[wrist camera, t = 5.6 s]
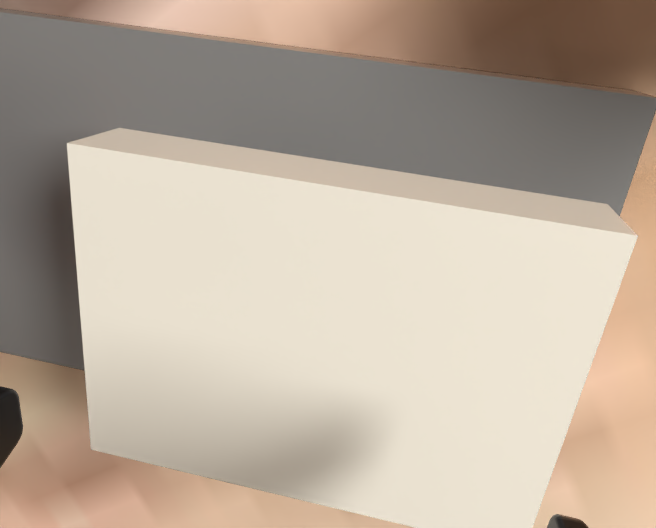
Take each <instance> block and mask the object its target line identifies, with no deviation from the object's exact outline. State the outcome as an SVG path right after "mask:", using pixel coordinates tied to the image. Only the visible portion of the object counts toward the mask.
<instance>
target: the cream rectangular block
mask: <svg viewBox="0 0 656 528" xmlns="http://www.w3.org/2000/svg"><path fill="white" fill-rule="evenodd" d="M67 154H68V166H69V179H70V192H71V204H72V217H73V229H74V242H75V255H76V267H77V280H78V292H79V305H80V318H81V330H82V343H83V355H84V368H85V381H86V393H87V406H88V419H89V431H90V444H91V450H95V451H99V452H103V453H107V454H111V455H115V456H120V457H124V458H128V459H132V460H136V461H140V462H145V463H149V464H153V465H157V466H161V467H165V468H169V469H174V470H178V471H182V472H186V473H190V474H194V475H199V476H203V477H207V478H211V479H215V480H219V481H224V482H228V483H232V484H236V485H240V486H244V487H249V488H253V489H257V490H261V491H265V492H269V493H273V494H278V495H282V496H286V497H290V498H294V499H298V500H303V501H307V502H311V503H315V504H319V505H323V506H328V507H332V508H336V509H340V510H344V511H348V512H353V513H357V514H361V515H365V516H369V517H373V518H377V519H382V520H386V521H390V522H394V523H398V524H402V525H407V526H411V527H415V528H532V527H533V524H534V522H535V519H536V516H537V513H538V511H539V508H540V505H541V502H542V500H543V497H544V494H545V491H546V489H547V486H548V483H549V480H550V478H551V475H552V472H553V469H554V466H555V464H556V461H557V458H558V455H559V453H560V450H561V447H562V444H563V442H564V439H565V436H566V433H567V431H568V428H569V425H570V422H571V420H572V417H573V414H574V411H575V408H576V406H577V403H578V400H579V397H580V395H581V392H582V389H583V386H584V384H585V381H586V378H587V375H588V373H589V370H590V367H591V364H592V362H593V359H594V356H595V353H596V350H597V348H598V345H599V342H600V339H601V337H602V334H603V331H604V328H605V326H606V323H607V320H608V317H609V315H610V312H611V309H612V306H613V304H614V301H615V298H616V295H617V292H618V290H619V287H620V284H621V281H622V279H623V276H624V273H625V270H626V268H627V265H628V262H629V259H630V257H631V254H632V251H633V248H634V246H635V243H636V240H637V237H638V235H637V234H636V233H635V232H634V231H633V230H632V229H631V228H630V227H629V226H628V225H627V224H626V223H625V222H624V221H623V220H622V219H621V218H620V217H619V216H618V214H617V213H616V212H615V211H614V210H613V209H612V208H611V207H610V206H609V205H608V204H604V203H597V202H591V201H585V200H578V199H572V198H565V197H559V196H553V195H546V194H540V193H533V192H527V191H521V190H514V189H508V188H501V187H495V186H489V185H482V184H476V183H469V182H463V181H457V180H450V179H444V178H437V177H431V176H425V175H418V174H412V173H405V172H399V171H393V170H386V169H380V168H373V167H367V166H361V165H354V164H348V163H342V162H335V161H329V160H322V159H316V158H310V157H303V156H297V155H290V154H284V153H278V152H271V151H265V150H258V149H252V148H246V147H239V146H233V145H226V144H220V143H214V142H207V141H201V140H194V139H188V138H182V137H175V136H169V135H162V134H156V133H150V132H143V131H137V130H130V129H124V128H117V129H113V130H110V131H106V132H103V133H100V134H96V135H93V136H89V137H86V138H82V139H79V140H75V141H72V142H68V143H67Z"/></svg>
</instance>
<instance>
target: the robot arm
mask: <svg viewBox="0 0 656 528" xmlns="http://www.w3.org/2000/svg"><path fill="white" fill-rule="evenodd" d="M22 430H23V423H22V416H21V409H20V402H19V396H18V394H17V392H16V391H15V390H13V389H10V388H5V387H1V386H0V468H1V466H2V465H3V463H4V462H5V460H6V459H7V458H8V456H9V455H10V453H11V452H12V450H13V449H14V447H15V446H16V444H17V443H18V441H19V439H20V437H21V434H22ZM547 528H588V526H587V525H586V524H585V523H584V522H583V521H581V520H579V519H576V518H572V517H568V516H563V515H559V514H557V515H553V516H552V518H551V519H550V521H549V524H548V526H547Z"/></svg>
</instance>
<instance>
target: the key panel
mask: <svg viewBox="0 0 656 528" xmlns="http://www.w3.org/2000/svg"><path fill="white" fill-rule="evenodd" d="M655 111H656V97H654V96H651V95H647V94H644V93H640V92H637V91H633V90H625V89H617V88H610V87H602V86H594V85H587V84H579V83H571V82H563V81H556V80H548V79H540V78H533V77H525V76H517V75H509V74H502V73H494V72H486V71H479V70H471V69H463V68H455V67H448V66H440V65H432V64H425V63H417V62H409V61H402V60H394V59H386V58H378V57H371V56H363V55H355V54H348V53H340V52H332V51H324V50H317V49H309V48H301V47H294V46H286V45H278V44H271V43H263V42H255V41H247V40H240V39H232V38H224V37H217V36H209V35H201V34H193V33H186V32H178V31H170V30H163V29H155V28H147V27H140V26H132V25H124V24H116V23H109V22H101V21H93V20H86V19H78V18H70V17H62V16H55V15H47V14H39V13H32V12H24V11H16V10H8V9H1V8H0V352H3V353H8V354H12V355H17V356H21V357H26V358H30V359H35V360H39V361H44V362H48V363H53V364H58V365H62V366H67V367H71V368H76V369H80V370H85V368H84V355H83V343H82V330H81V318H80V305H79V292H78V280H77V267H76V255H75V242H74V229H73V217H72V204H71V192H70V179H69V166H68V154H67V143H68V142H72V141H75V140H79V139H82V138H86V137H89V136H93V135H96V134H100V133H103V132H106V131H110V130H113V129H117V128H124V129H130V130H137V131H143V132H150V133H156V134H162V135H169V136H175V137H182V138H188V139H194V140H201V141H207V142H214V143H220V144H226V145H233V146H239V147H246V148H252V149H258V150H265V151H271V152H278V153H284V154H290V155H297V156H303V157H310V158H316V159H322V160H329V161H335V162H342V163H348V164H354V165H361V166H367V167H373V168H380V169H386V170H393V171H399V172H405V173H412V174H418V175H425V176H431V177H437V178H444V179H450V180H457V181H463V182H469V183H476V184H482V185H489V186H495V187H501V188H508V189H514V190H521V191H527V192H533V193H540V194H546V195H553V196H559V197H565V198H572V199H578V200H585V201H591V202H597V203H604V204H608V205H609V206H610V207H611V208H612V209H613V210H614V211H615V212H616V213H617V214H618V216H620V213H621V211H622V208H623V205H624V202H625V199H626V196H627V193H628V190H629V187H630V184H631V181H632V178H633V175H634V173H635V170H636V167H637V164H638V161H639V158H640V155H641V152H642V149H643V146H644V143H645V140H646V138H647V135H648V132H649V129H650V126H651V123H652V120H653V117H654V114H655Z"/></svg>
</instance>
